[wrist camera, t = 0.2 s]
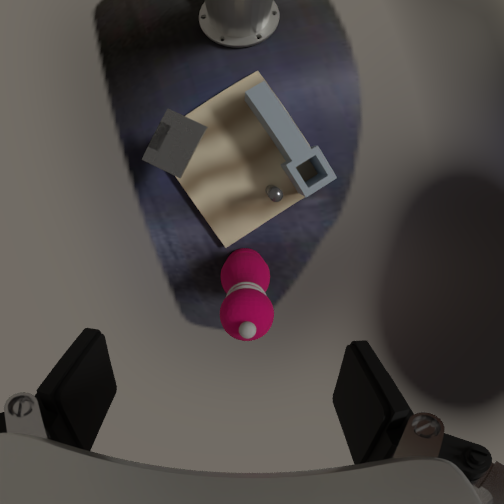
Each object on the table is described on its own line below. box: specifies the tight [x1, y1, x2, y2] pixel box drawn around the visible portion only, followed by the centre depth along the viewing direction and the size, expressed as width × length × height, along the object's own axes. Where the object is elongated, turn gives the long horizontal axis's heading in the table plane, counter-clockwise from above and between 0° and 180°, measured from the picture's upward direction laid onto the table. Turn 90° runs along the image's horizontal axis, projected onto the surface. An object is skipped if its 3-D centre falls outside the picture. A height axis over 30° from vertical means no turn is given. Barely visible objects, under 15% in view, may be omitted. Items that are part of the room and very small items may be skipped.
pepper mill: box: [220, 248, 274, 341], centre depth 38 cm, size 7×7×20 cm
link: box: [245, 81, 337, 197], centre depth 39 cm, size 16×5×6 cm, turn 33°
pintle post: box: [265, 185, 283, 202], centre depth 41 cm, size 2×2×8 cm
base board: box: [175, 71, 318, 248], centre depth 42 cm, size 20×19×1 cm
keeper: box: [142, 109, 208, 178], centre depth 38 cm, size 6×7×9 cm
